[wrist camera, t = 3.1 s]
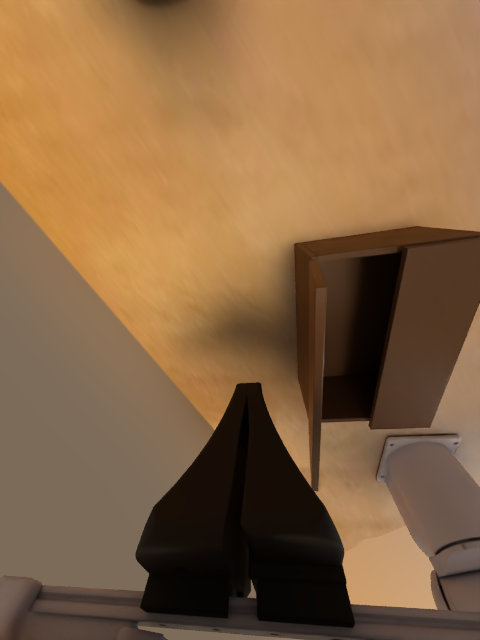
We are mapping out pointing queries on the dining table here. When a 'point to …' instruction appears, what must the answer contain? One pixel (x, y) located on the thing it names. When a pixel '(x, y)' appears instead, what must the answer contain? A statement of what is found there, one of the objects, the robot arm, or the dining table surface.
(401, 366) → the carton
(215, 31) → the dining table surface
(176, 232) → the dining table surface
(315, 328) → the flap
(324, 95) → the dining table surface
